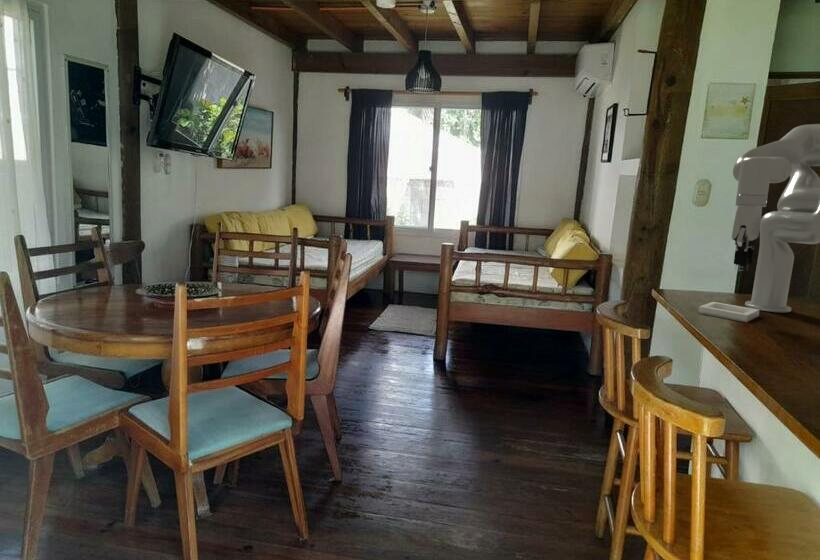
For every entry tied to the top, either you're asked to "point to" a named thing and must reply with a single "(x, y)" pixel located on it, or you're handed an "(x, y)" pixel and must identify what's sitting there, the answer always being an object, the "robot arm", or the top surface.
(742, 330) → the top surface
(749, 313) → the socket plate
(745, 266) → the push button
